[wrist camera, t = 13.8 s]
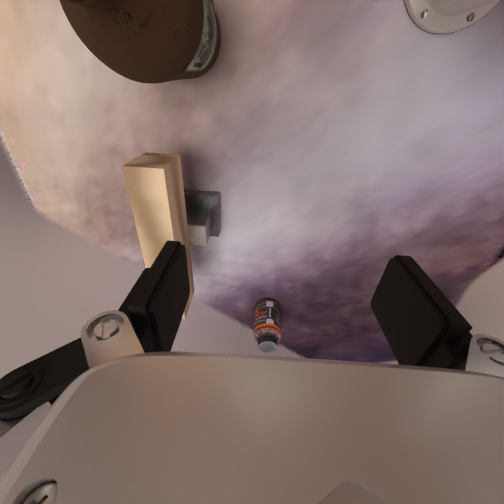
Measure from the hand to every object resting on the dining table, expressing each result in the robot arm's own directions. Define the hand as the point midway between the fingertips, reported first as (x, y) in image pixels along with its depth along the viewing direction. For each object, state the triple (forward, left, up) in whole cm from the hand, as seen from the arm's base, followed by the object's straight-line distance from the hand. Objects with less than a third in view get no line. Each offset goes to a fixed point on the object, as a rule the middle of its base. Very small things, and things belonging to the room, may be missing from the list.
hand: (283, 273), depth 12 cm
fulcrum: (+14, +13, -33) cm, 38 cm away
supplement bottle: (-3, +37, -34) cm, 50 cm away
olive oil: (+12, -12, -34) cm, 38 cm away
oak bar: (+14, +13, -24) cm, 31 cm away
